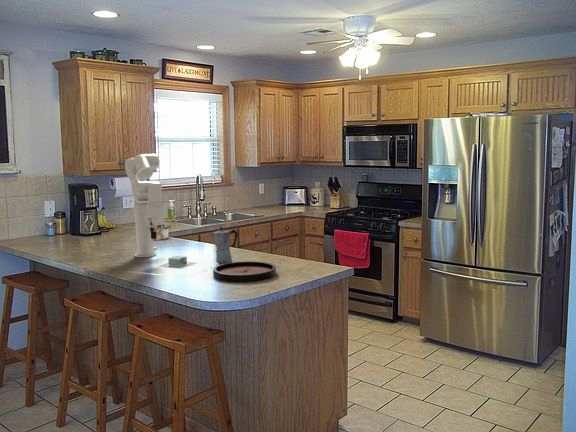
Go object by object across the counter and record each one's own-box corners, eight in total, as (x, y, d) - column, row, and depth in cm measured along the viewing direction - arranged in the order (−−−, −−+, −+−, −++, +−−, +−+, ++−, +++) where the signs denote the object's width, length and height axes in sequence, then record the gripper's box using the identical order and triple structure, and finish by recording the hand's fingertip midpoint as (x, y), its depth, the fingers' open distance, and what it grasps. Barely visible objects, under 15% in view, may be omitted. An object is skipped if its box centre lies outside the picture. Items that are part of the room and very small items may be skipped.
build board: (173, 262, 313) (173, 260, 312) (198, 264, 306) (198, 262, 306) (157, 268, 299) (157, 266, 299) (182, 270, 292) (182, 268, 292)
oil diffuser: (175, 241, 386) (174, 217, 384) (141, 241, 387) (139, 217, 385) (183, 235, 411) (182, 212, 409) (151, 235, 412) (150, 213, 410)
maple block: (156, 237, 309) (155, 227, 309) (163, 238, 307) (163, 227, 307) (150, 239, 305) (150, 228, 304) (158, 239, 303) (157, 229, 302)
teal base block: (176, 262, 307) (175, 255, 306) (187, 263, 304) (186, 256, 304) (168, 265, 301) (168, 258, 300) (179, 266, 298) (179, 259, 297)
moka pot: (209, 262, 312) (207, 226, 310) (235, 259, 318) (234, 224, 315) (213, 265, 304) (211, 229, 301) (240, 262, 309) (239, 227, 306)
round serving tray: (241, 278, 257) (200, 268, 279) (242, 286, 258) (200, 276, 279) (288, 266, 280) (246, 258, 301) (289, 274, 280) (247, 266, 302)
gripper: (159, 203, 313) (160, 235, 315) (139, 206, 297) (141, 240, 300) (170, 203, 310) (171, 235, 312) (151, 206, 294) (152, 240, 297)
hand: (156, 237), depth 306 cm, fingers closed on maple block, 5 cm apart
